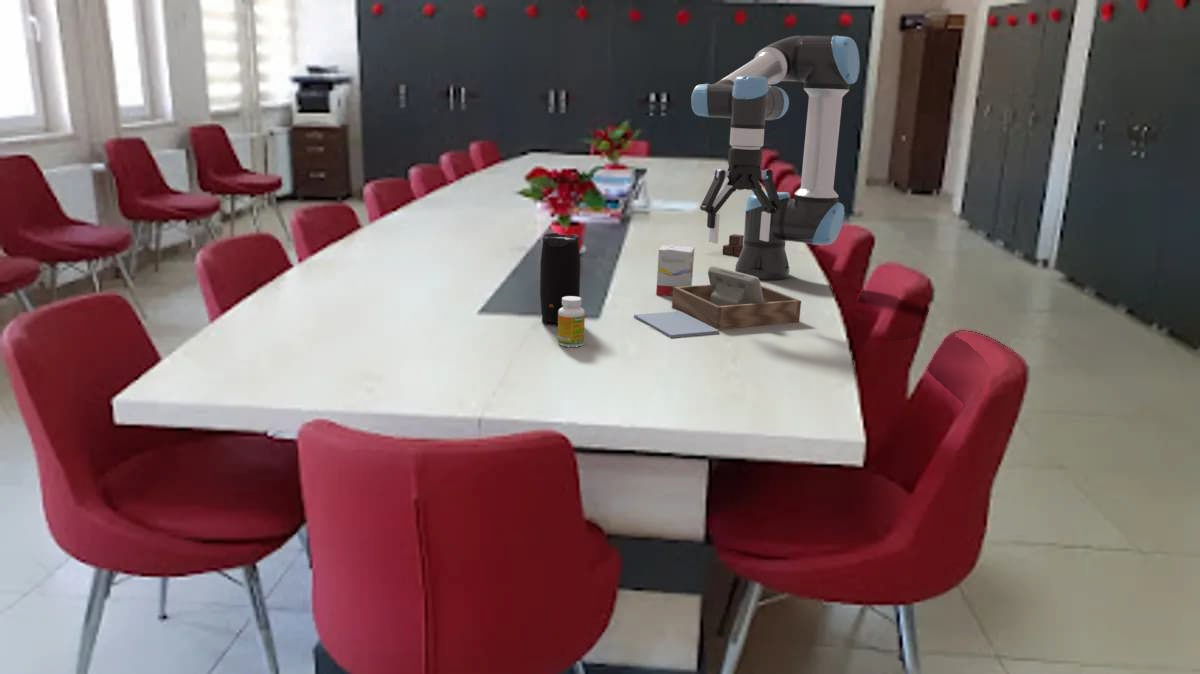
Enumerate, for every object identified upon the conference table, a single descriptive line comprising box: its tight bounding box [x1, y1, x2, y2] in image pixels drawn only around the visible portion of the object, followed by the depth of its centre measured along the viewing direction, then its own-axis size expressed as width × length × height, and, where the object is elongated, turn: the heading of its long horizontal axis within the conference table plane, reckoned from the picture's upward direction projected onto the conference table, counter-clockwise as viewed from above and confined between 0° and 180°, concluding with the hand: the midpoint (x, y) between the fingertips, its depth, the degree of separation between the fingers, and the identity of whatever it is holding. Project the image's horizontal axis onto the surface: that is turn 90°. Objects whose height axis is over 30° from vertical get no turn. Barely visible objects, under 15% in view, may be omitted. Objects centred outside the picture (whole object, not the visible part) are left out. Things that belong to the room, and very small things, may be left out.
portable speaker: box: [539, 232, 581, 324], centre depth 205 cm, size 9×9×20 cm
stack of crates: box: [722, 233, 744, 258], centre depth 294 cm, size 15×15×7 cm
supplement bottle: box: [557, 296, 586, 348], centre depth 190 cm, size 5×5×10 cm
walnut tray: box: [671, 284, 802, 330], centre depth 219 cm, size 22×21×5 cm
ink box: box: [655, 244, 695, 297], centre depth 238 cm, size 9×9×12 cm
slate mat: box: [633, 310, 720, 339], centre depth 208 cm, size 12×18×1 cm, turn 23°
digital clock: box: [707, 266, 764, 306], centre depth 218 cm, size 16×9×11 cm, turn 25°
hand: (738, 241), depth 215 cm, fingers open, 13 cm apart
